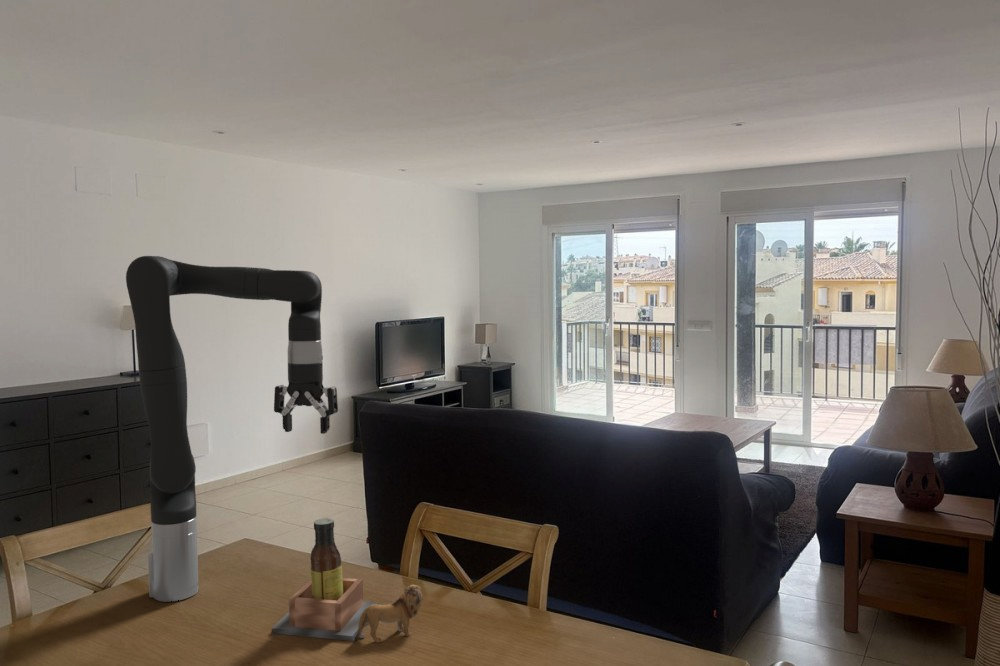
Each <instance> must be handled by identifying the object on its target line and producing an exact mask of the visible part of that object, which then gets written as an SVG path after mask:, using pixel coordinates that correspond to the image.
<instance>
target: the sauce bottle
mask: <svg viewBox="0 0 1000 666" xmlns="http://www.w3.org/2000/svg"><path fill="white" fill-rule="evenodd" d="M334 528H335V521H334V519H332V518H327V517H325V518H320V519H316V520H315V521H313V529H314V535H315V539H314V542H315V543H314V546H313V548H312V550H311V552H310V577H311V579H310V580H311V581H312V599H323V600H335V601H338V599H339V598H340V597H341V596H342V595H343V580H342V578H343V567H342V558H341V553H340V551H339V549H338V547H337V545H336V542H335V534H334V531H335V529H334Z"/></svg>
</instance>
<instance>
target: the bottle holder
mask: <svg viewBox="0 0 1000 666" xmlns="http://www.w3.org/2000/svg"><path fill="white" fill-rule="evenodd" d="M342 580H343V595H342V596H341V597H340V598H339V599H338V601H335V600H323V599H312V581H311V579H309V581H307V582H306V584H304V585H303V586H301V588H300V589H299V590H298V591H297V592H296V593H294V594H293V595H292V596H291V597H290V598H289V599H288V603H289V605H288V606H289V608H288V609H289V611H288V612H287V613H286V614H285V615H283V617H282V618H281V619H280V620H279V621H278V622H276V624H275V625H273V626H272V627H271V634H276V635H286V636H299V637H307V638H308V637H309V638H319V639H327V640H328V639H329V640H339V641H349V642H353V640H354V639H355V637H356V635H357V632H358V626H359V621H360V617H361V615H362V613H363V611H364V610H365V609H366V608H367V607H368V606H370V605H373V604H379V605H380V602H378V601H377V602H376V601H365V600H364V582H363V581H364V579H361V578H360V579H359V578H348V577H342Z"/></svg>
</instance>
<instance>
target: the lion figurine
mask: <svg viewBox="0 0 1000 666" xmlns="http://www.w3.org/2000/svg"><path fill="white" fill-rule="evenodd" d="M403 589H404V590H403V591H404V592H403V593H402V594H401V595H399V598H398V599H396V600H395V602H392V603H388V604H380V603H379V604H373V605H370V606H368V607H367V608H366V609H365V610H364V611H363V613H362V615H361V617H360V621H359V626H358V632H357V635H356V637H355V639H354V640H353V641H352V643H356V642H357V641H358V640H359V639H363V638H365V637H366V634H365V633H364V632H363V631H364V630H365V628H367V627H368V626H369V627H370V633H369V634H370V637H371V638H372V639H373V641H374V643H377V644H378V643H379V644H380V643H381V642H382V638H381V637H377V629H378V627H379V624H380V623H379V621H380V622H382V623H384V624H394V623H397V630H398V632H403V634H404V636H406V637H410V636H411V635H412V632H410V631H409V628H410V620H411V619H413V618H415V617H416V615H418V613H419V610H420V608H421V606H422V601H423V599H424V598H423V597H424V594H423V592H422V587H421V586H419V585H416V584H411V585H409V586H406V587H405V588H403Z"/></svg>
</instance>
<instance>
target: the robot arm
mask: <svg viewBox="0 0 1000 666" xmlns="http://www.w3.org/2000/svg"><path fill="white" fill-rule="evenodd" d="M125 282H126V288H127V291H128V292H127V293H128V297H129V300H130V301H129V303H130V306H131V309H132V315H133V320H134V328H135V329H134V330H135V341H136V351H137V364H138V375H139V378H138V379H139V385H140V386H139V387H140V391H141V398H142V402H143V408H144V413H145V416H146V419H147V423H148V427H149V436H150V461H149V472H148V473H149V490H150V522H151V523H150V524H151V553H149V554H148V557H147V563H148V564H147V566H148V568H147V569H148V588H149V589H148V592H149V594H148V596H149V598H153V599H154V600H155V601H158V602H163V603H167V602H169V603H171V601H172V602H178V600H179V601H182V600H185V599H189V598H191V597H193V596H195V595H196V594H197V593H198V591H199V561H198V559H199V558H198V556H199V555H198V527H197V525H198V523H197V521H198V520H197V519H198V518H197V495H196V469H197V468H196V463H195V462H196V461H195V457H194V455H193V453H192V450H191V444H190V440H189V435H188V434H189V433H188V424H187V423H188V422H187V421H188V420H187V419H188V416H187V415H188V378H187V371H186V370H187V369H186V362H185V361H186V360H185V355H184V353H183V350H182V346H181V344H180V341H179V339H178V337H177V335H176V332H175V329H174V327H173V323H172V318H171V305H170V304H171V303H170V302H171V300H170V297H171V296H179V295H192V294H193V295H212V296H216V297H217V296H218V297H225V298H231V299H242V300H252V301H253V300H254V301H255V300H256V301H257V300H258V301H271V300H272V301H273V300H274V301H282V302H287V303H290V316H289V318H288V322H287V323H288V324H287V325H288V327H287V328H288V330H287V332H288V343H287V381H288V384H287V386H285V385H284V384H280V385H276V386H275V387H274V398H273V399H274V400H273V401H274V403H273V412H274V413H277V414H280V415H282V416H281V417H282V428H283V430H284V432H285V433H289V432H290V433H291V432H292V431H293V414H292V412H293V411H294V409H296V407H302V406H303V407H313V408H314V409H315V410H317V412H318V413H319V415H320V416H321V417H320V419H319V420H320V422H319V423H320V428H319V429H320V430H319V431H320V434H323V435H324V434H327V433H328V431H329V430H330V427H331V424H330V416H332V415H335V414H337V413H338V412H339V407H338V406H339V403H338V402H339V401H338V392H337V391H338V390H337V387H336V386H330V387H325V386H324V385H323V379H324V378H323V377H324V375H323V362H324V361H323V360H324V356H323V347H322V346H323V345H322V331H321V330H322V327H321V309H322V299H323V297H322V296H323V289H322V288H323V287H322V282H321V279H320V277H318V275H317V274H315V273H314V272H312V271H308V270H291V269H289V270H286V269H285V270H284V269H283V270H282V269H281V270H279V269H277V270H275V269H270V268H264V267H263V268H262V267H251V266H250V267H249V266H206V265H199V264H197V265H196V264H192V263H191V264H190V263H186V262H182V261H178V260H172V259H169V258H166V257H164V256H159V255H143V256H139V257H136V258H135V259H134V260H132V262H131V263H130V264H129V265H128V267H127V270H126V273H125ZM287 394H288V395H289V397H290V398H289V399H288V401H287V403H286V404H285V396H286V395H287ZM323 394H325V397H327V403H326V402H325V400H324V399H323Z"/></svg>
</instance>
